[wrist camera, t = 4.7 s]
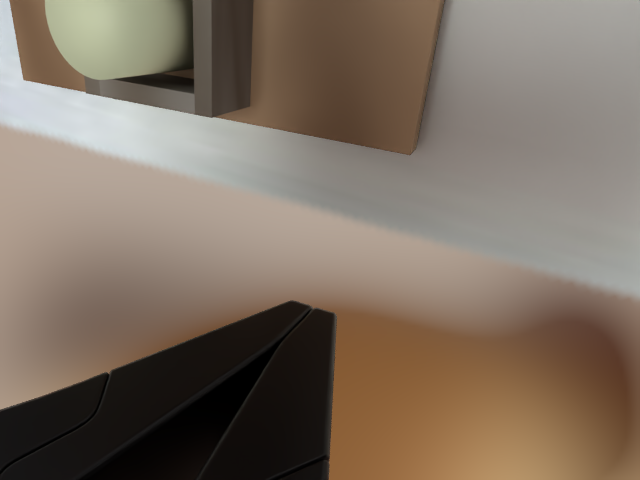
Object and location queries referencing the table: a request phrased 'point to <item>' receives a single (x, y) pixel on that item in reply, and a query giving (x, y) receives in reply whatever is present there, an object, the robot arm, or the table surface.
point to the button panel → (278, 66)
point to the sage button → (123, 36)
